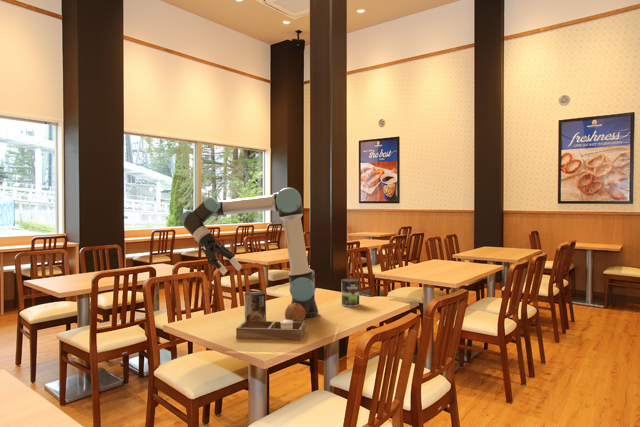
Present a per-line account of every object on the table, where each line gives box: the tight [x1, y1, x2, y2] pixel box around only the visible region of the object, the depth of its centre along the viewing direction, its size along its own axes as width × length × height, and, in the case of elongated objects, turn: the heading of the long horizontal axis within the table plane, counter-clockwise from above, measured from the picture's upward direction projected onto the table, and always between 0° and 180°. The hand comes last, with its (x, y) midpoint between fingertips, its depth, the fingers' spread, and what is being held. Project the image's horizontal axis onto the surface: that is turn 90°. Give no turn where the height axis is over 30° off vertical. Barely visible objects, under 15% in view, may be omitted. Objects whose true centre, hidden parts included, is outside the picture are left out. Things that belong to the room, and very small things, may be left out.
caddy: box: [235, 320, 306, 342], centre depth 173 cm, size 12×27×5 cm, turn 83°
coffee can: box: [340, 278, 360, 308], centre depth 231 cm, size 10×10×14 cm
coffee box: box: [243, 290, 267, 321], centre depth 187 cm, size 9×6×16 cm
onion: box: [284, 303, 306, 322], centre depth 193 cm, size 10×10×10 cm
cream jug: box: [280, 319, 293, 329], centre depth 173 cm, size 6×6×6 cm
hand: (233, 270), depth 190 cm, fingers open, 13 cm apart
